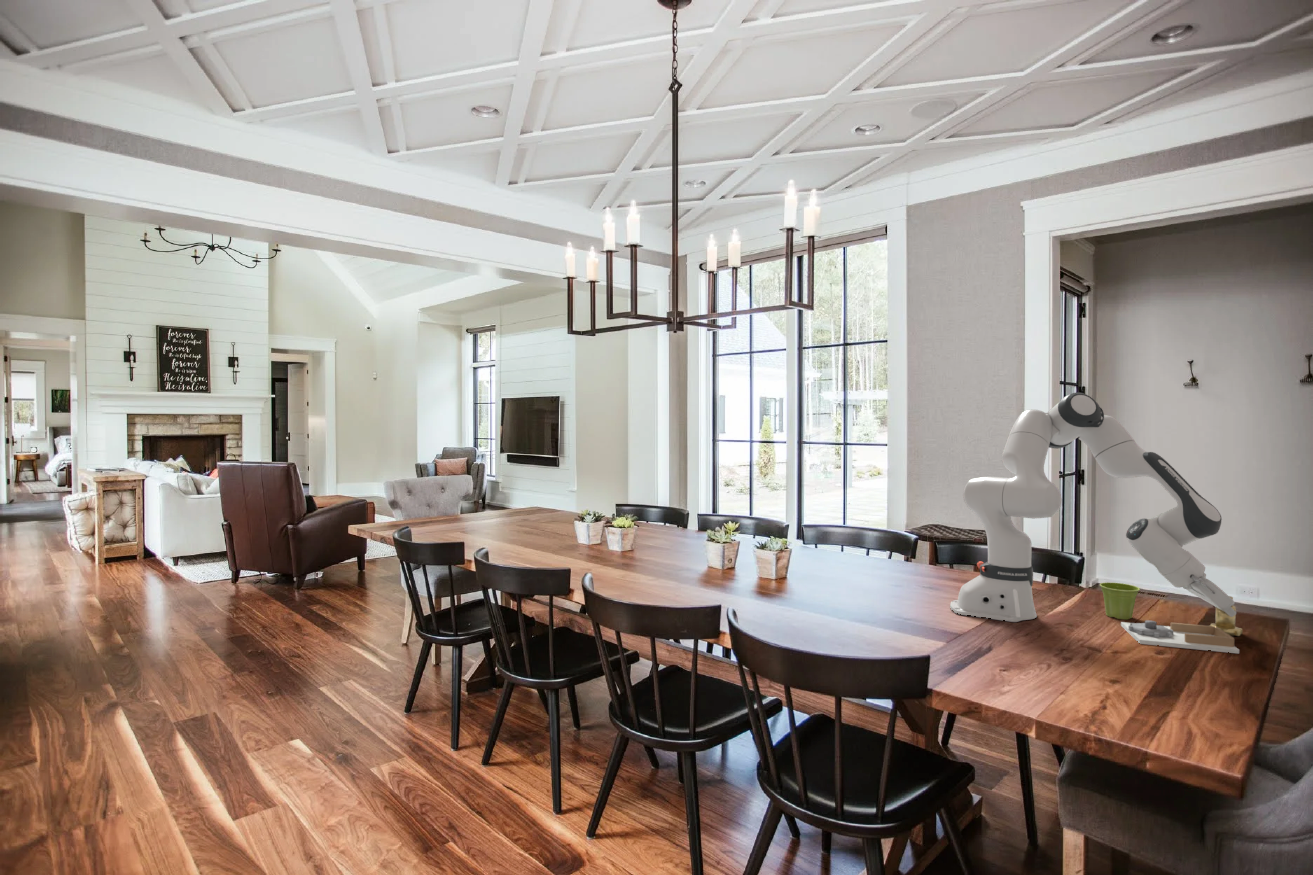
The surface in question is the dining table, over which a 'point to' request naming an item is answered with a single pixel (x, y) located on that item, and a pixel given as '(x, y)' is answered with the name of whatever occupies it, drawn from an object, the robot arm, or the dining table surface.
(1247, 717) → the dining table surface
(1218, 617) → the brass gear shaft
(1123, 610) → the plant pot
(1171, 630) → the gear board
